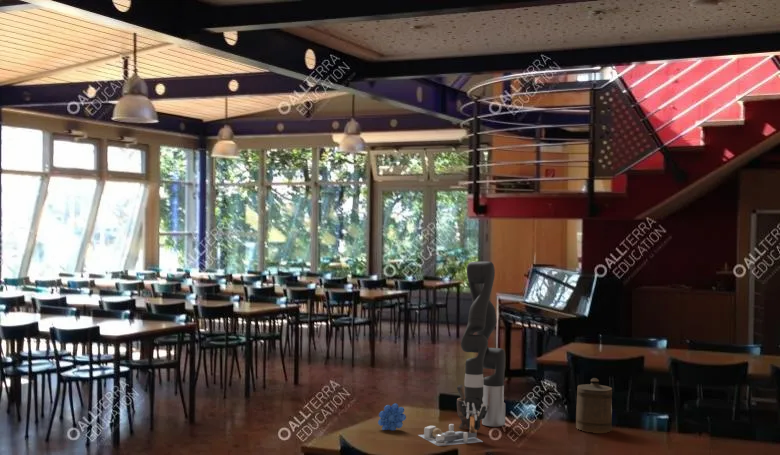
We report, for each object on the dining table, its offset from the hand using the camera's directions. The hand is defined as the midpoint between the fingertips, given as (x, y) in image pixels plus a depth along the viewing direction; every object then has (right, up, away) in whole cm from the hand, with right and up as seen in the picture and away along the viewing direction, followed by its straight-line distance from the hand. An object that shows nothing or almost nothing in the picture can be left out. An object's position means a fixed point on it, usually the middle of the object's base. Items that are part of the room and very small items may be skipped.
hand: (473, 428), depth 314 cm
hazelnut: (-14, -4, -1) cm, 15 cm away
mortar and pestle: (-1, -6, +17) cm, 18 cm away
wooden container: (+54, -7, +25) cm, 60 cm away
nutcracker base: (-9, -5, 0) cm, 11 cm away
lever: (-7, -3, -4) cm, 9 cm away
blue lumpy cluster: (-32, -5, +14) cm, 35 cm away
